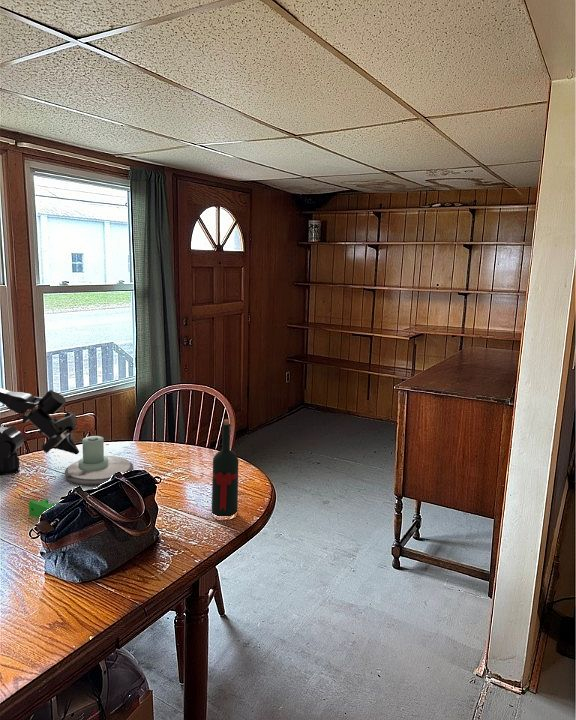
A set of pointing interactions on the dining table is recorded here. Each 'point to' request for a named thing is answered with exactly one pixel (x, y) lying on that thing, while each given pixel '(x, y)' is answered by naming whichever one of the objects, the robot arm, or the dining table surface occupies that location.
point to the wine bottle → (225, 477)
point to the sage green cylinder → (93, 454)
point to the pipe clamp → (38, 507)
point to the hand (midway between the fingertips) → (78, 453)
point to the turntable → (97, 472)
